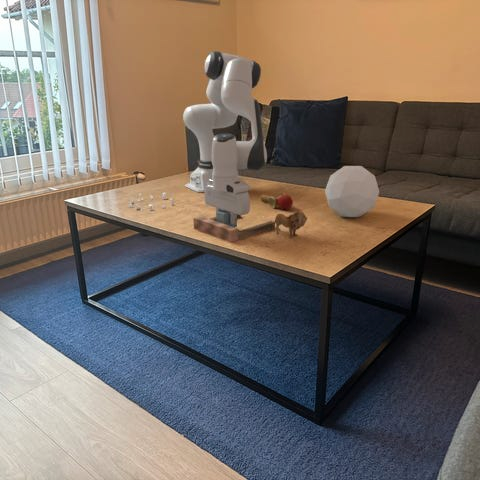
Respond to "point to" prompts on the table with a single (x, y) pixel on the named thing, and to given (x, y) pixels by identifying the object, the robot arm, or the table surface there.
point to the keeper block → (225, 218)
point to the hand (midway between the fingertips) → (226, 221)
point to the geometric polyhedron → (352, 191)
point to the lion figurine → (290, 222)
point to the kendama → (278, 201)
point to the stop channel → (227, 228)
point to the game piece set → (150, 204)
